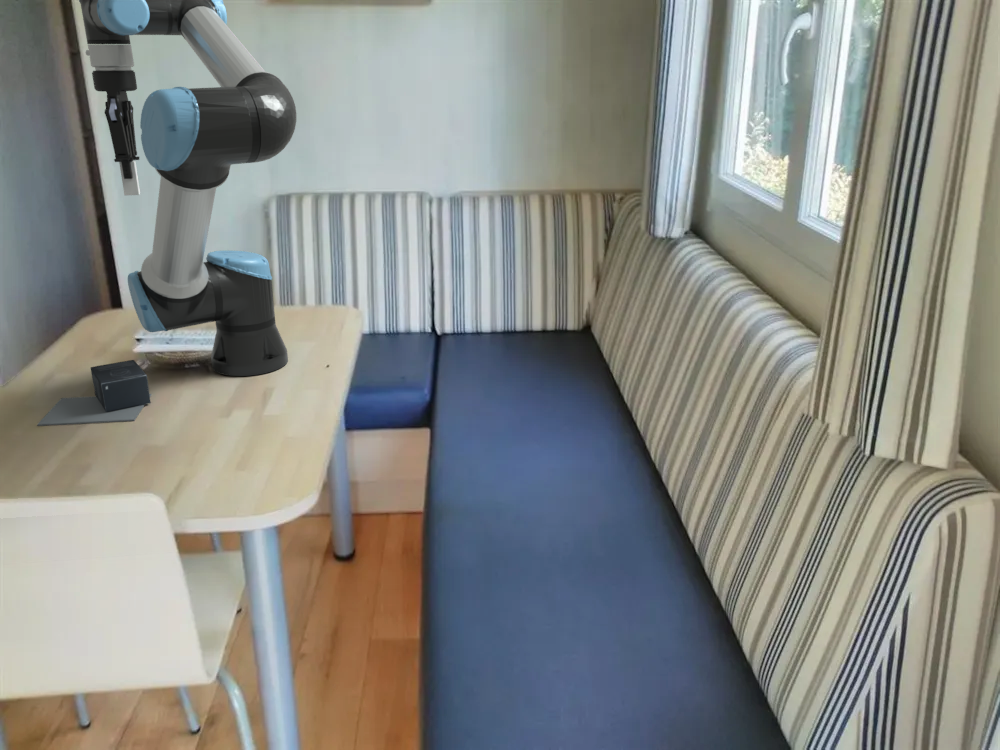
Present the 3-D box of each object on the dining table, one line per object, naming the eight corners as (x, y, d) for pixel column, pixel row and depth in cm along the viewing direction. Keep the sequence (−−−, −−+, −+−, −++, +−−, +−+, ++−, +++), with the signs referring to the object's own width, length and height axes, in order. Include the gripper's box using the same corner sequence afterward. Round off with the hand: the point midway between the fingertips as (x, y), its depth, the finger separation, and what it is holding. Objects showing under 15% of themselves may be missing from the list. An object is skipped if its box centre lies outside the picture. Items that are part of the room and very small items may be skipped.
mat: (151, 395, 159) (151, 393, 159) (134, 420, 148) (133, 419, 148) (61, 399, 157) (61, 397, 157) (37, 426, 146) (37, 424, 146)
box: (94, 395, 159) (105, 413, 150) (89, 366, 157) (100, 383, 148) (139, 386, 163) (151, 403, 154) (134, 358, 161) (147, 374, 152)
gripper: (100, 68, 166) (120, 190, 174) (82, 70, 154) (104, 200, 162) (141, 68, 167) (158, 189, 176) (126, 69, 155) (145, 199, 164)
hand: (132, 194), depth 169 cm, fingers closed
